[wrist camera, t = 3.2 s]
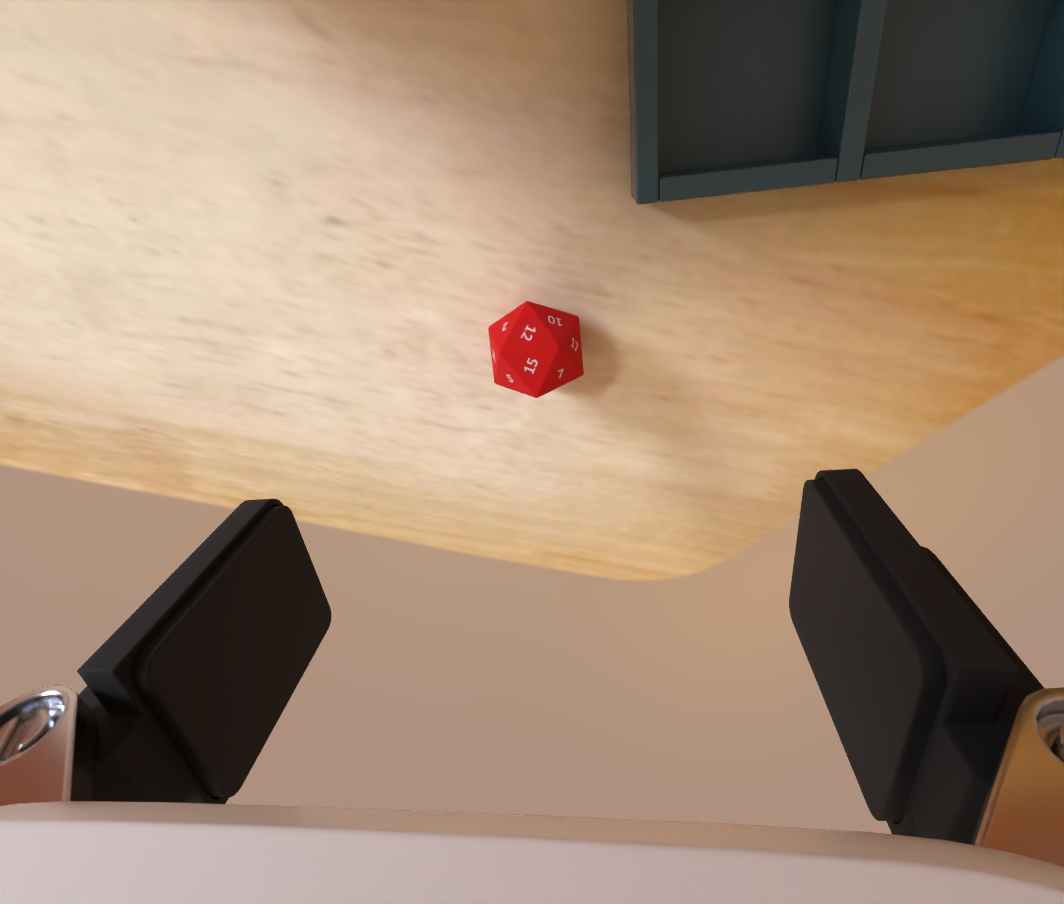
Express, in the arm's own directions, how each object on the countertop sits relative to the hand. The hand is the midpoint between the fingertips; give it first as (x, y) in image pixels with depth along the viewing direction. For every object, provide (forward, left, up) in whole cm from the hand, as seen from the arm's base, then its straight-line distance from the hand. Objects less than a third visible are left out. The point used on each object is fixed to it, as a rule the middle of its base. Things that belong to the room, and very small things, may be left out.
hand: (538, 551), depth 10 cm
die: (-1, 0, -14) cm, 14 cm away
